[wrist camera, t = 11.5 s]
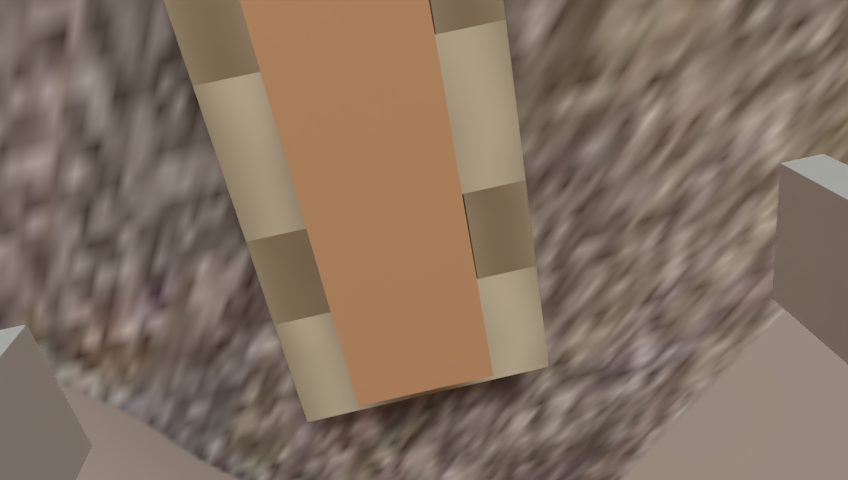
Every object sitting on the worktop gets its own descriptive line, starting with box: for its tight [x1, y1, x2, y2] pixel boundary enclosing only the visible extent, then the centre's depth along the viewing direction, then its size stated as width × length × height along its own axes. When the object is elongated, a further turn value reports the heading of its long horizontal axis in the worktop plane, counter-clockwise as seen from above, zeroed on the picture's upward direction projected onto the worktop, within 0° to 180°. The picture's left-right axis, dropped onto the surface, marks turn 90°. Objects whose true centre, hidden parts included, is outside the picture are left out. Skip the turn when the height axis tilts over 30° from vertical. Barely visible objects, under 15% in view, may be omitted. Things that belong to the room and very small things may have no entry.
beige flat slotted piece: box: [164, 0, 549, 422], centre depth 24 cm, size 10×22×4 cm, turn 11°
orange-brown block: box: [240, 0, 493, 407], centre depth 21 cm, size 12×4×10 cm, turn 10°
